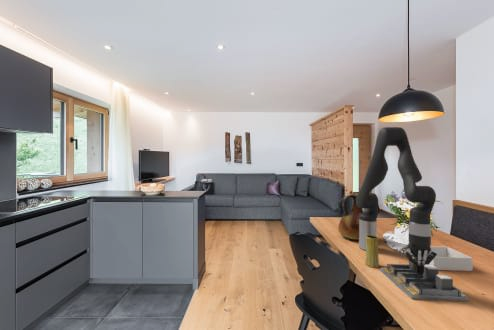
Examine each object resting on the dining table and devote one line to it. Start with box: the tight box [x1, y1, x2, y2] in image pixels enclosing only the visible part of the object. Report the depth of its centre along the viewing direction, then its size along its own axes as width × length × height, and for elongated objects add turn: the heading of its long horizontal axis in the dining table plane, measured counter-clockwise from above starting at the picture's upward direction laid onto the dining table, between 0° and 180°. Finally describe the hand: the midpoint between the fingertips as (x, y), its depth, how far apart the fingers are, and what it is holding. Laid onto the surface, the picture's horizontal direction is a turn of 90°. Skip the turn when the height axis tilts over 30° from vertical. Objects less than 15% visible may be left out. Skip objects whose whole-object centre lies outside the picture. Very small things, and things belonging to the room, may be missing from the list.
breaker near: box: [436, 274, 454, 290], centre depth 87 cm, size 3×4×6 cm
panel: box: [380, 263, 468, 302], centre depth 95 cm, size 22×20×4 cm
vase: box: [364, 235, 380, 269], centre depth 113 cm, size 6×6×14 cm
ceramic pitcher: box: [338, 193, 364, 241], centre depth 153 cm, size 20×20×30 cm
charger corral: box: [426, 245, 474, 272], centre depth 114 cm, size 15×18×6 cm
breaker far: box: [408, 256, 415, 269], centre depth 103 cm, size 3×4×6 cm
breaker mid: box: [423, 265, 439, 279], centre depth 95 cm, size 3×4×6 cm
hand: (419, 273), depth 95 cm, fingers closed
